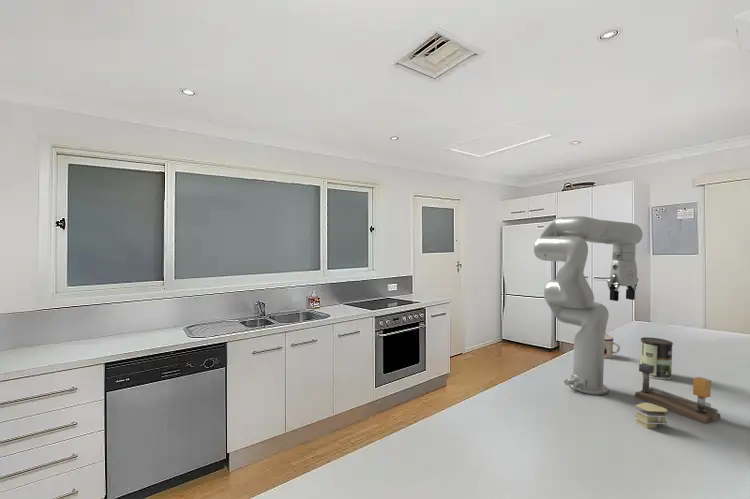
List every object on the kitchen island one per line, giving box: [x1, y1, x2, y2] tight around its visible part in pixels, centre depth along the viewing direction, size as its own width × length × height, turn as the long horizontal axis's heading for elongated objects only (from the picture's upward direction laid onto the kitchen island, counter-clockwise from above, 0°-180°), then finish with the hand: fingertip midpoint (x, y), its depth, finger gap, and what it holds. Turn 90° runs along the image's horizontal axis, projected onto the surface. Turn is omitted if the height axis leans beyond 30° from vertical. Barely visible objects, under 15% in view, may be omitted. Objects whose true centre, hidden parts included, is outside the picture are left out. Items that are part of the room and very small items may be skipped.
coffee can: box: [639, 336, 674, 380], centre depth 149 cm, size 10×10×14 cm
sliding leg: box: [692, 376, 712, 411], centre depth 113 cm, size 5×3×10 cm, turn 113°
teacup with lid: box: [604, 332, 621, 359], centre depth 173 cm, size 12×9×12 cm
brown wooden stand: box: [634, 363, 721, 424], centre depth 120 cm, size 8×20×11 cm, turn 23°
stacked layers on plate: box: [634, 402, 669, 429], centre depth 107 cm, size 10×9×6 cm
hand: (622, 299), depth 148 cm, fingers open, 9 cm apart
